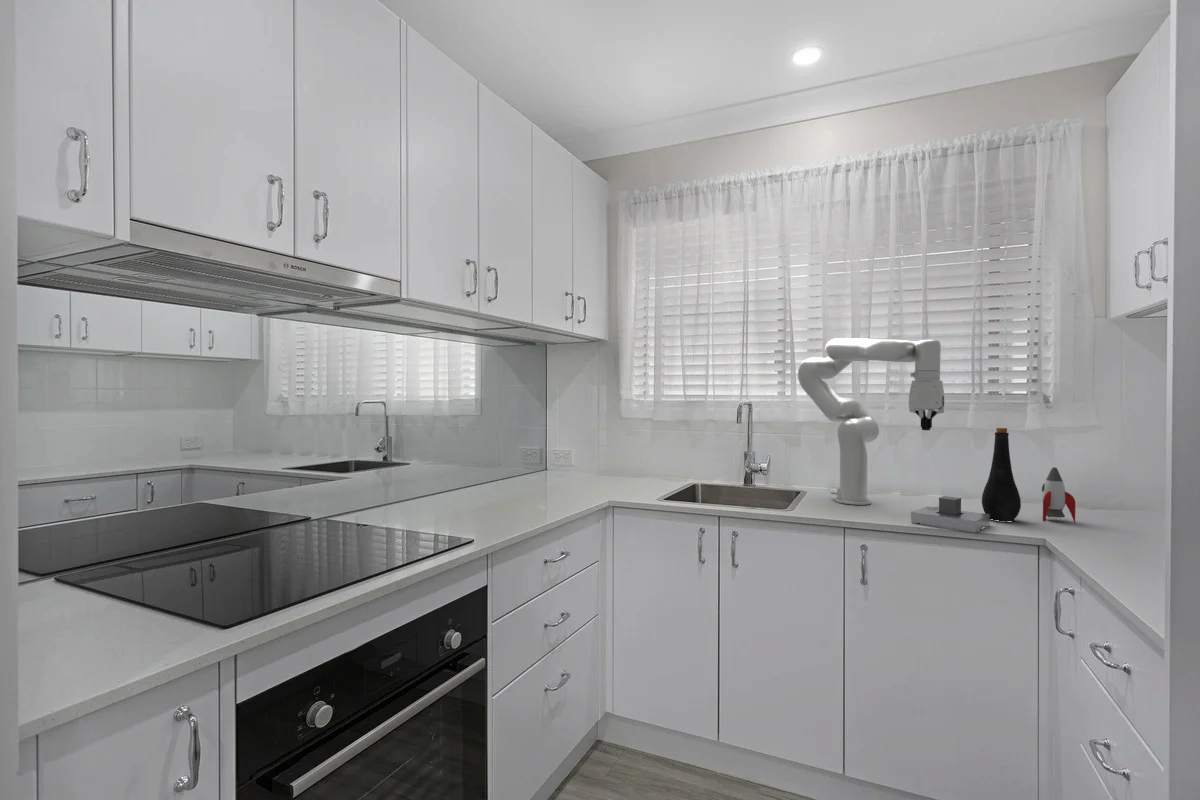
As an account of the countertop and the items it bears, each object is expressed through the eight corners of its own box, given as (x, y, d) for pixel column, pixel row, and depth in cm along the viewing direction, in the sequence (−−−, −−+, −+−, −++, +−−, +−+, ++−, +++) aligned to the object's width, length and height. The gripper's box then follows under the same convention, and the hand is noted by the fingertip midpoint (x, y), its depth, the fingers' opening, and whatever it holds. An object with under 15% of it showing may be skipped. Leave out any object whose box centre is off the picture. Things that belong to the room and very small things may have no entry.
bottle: (1020, 525, 185) (1021, 429, 184) (980, 520, 191) (981, 428, 191) (1021, 519, 193) (1022, 427, 193) (982, 514, 200) (983, 426, 199)
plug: (938, 523, 186) (938, 497, 186) (946, 519, 191) (946, 495, 191) (955, 525, 183) (955, 500, 183) (963, 522, 188) (963, 497, 188)
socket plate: (911, 522, 188) (911, 509, 188) (927, 516, 198) (927, 503, 198) (975, 532, 175) (975, 518, 175) (989, 525, 184) (989, 511, 184)
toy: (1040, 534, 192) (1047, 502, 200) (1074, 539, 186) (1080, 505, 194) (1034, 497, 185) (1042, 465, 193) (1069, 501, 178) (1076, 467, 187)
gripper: (899, 376, 204) (898, 429, 204) (947, 376, 192) (946, 432, 193) (908, 376, 209) (907, 428, 209) (955, 376, 197) (954, 430, 198)
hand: (926, 429), depth 201 cm, fingers closed
